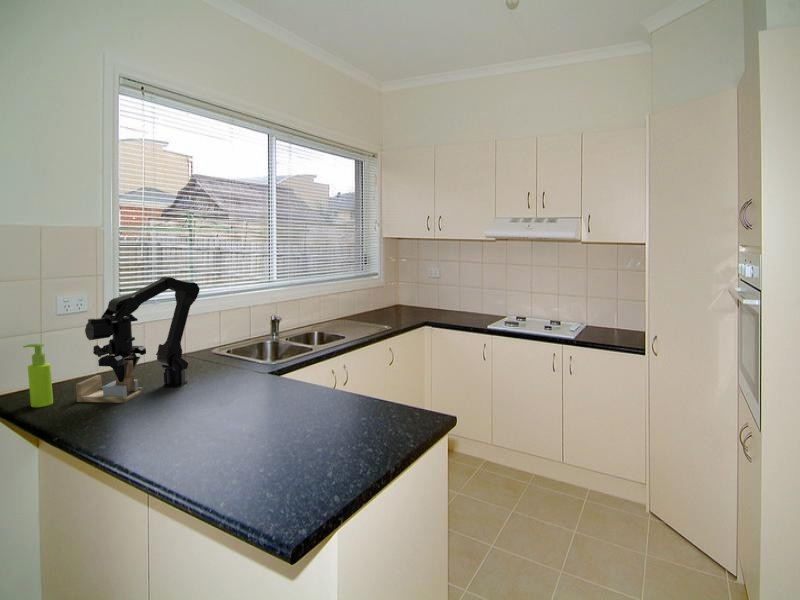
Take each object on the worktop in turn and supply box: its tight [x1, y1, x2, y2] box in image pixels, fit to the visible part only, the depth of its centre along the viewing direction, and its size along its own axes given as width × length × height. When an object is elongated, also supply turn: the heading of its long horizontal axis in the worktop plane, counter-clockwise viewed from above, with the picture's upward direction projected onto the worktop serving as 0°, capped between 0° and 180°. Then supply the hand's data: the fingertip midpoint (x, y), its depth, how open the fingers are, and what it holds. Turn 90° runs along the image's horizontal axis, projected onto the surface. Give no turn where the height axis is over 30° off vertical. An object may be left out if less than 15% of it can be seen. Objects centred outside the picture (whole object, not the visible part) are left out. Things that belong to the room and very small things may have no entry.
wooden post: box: [114, 360, 135, 392], centre depth 165 cm, size 4×4×10 cm
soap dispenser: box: [22, 343, 54, 408], centre depth 156 cm, size 6×7×20 cm
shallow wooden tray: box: [75, 374, 144, 404], centre depth 165 cm, size 16×11×6 cm
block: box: [102, 379, 139, 397], centre depth 165 cm, size 7×9×4 cm
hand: (124, 380), depth 165 cm, fingers closed on wooden post, 4 cm apart
